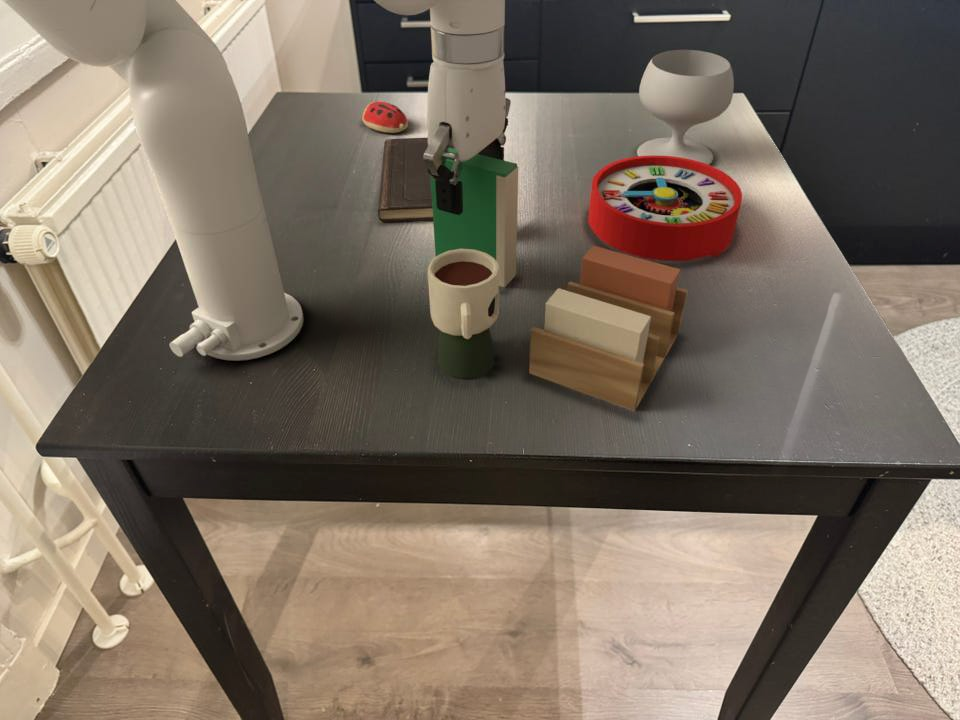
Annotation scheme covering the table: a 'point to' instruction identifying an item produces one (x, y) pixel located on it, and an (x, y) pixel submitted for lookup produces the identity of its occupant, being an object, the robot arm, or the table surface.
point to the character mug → (464, 310)
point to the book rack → (607, 353)
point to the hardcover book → (405, 182)
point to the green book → (482, 213)
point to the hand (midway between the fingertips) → (471, 193)
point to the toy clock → (664, 207)
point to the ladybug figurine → (384, 117)
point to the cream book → (597, 324)
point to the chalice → (685, 98)
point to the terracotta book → (630, 277)
